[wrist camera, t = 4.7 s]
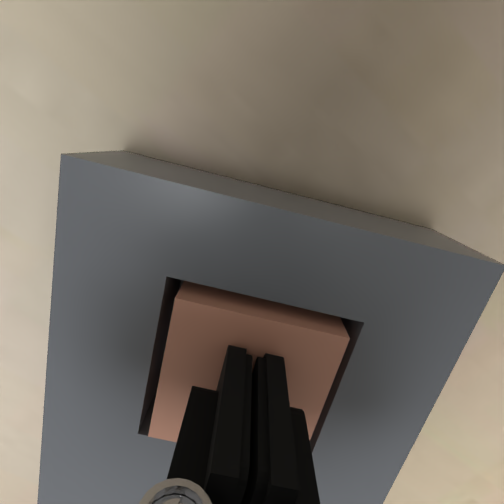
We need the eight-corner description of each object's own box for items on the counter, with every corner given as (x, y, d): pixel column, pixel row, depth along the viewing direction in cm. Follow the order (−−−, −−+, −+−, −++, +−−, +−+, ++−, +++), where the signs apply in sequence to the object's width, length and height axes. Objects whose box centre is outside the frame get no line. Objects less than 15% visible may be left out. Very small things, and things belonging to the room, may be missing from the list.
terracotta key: (194, 261, 12) (174, 297, 9) (328, 292, 12) (349, 338, 9) (171, 374, 13) (147, 436, 11) (290, 400, 14) (299, 467, 11)
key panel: (122, 150, 12) (60, 153, 8) (432, 229, 13) (506, 265, 9) (74, 546, 19) (27, 648, 15) (280, 584, 20) (285, 690, 16)
